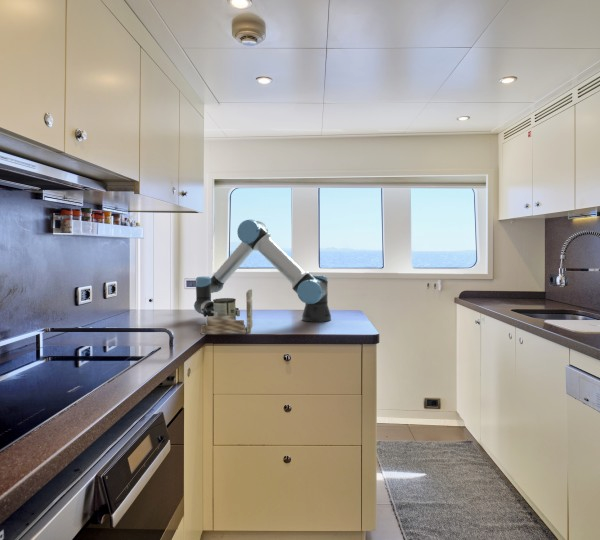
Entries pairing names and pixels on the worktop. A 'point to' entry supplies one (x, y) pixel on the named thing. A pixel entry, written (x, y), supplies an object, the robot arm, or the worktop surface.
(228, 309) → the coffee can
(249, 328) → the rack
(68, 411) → the worktop surface
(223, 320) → the offcut stack
